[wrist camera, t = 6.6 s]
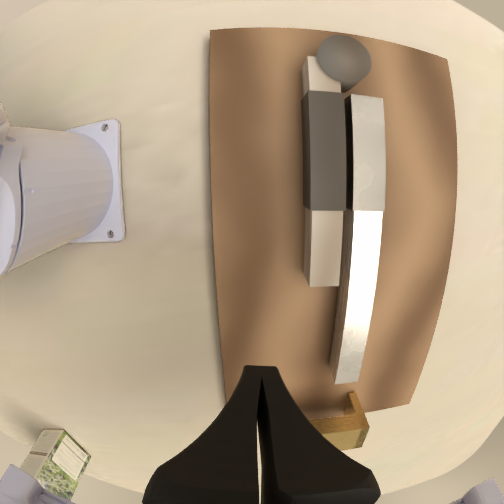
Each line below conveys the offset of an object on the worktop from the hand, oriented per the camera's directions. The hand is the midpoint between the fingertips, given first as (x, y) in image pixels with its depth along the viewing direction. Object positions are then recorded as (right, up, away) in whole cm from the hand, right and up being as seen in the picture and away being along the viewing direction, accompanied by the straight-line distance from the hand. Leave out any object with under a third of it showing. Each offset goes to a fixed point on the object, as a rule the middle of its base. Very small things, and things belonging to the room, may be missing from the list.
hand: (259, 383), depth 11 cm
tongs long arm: (+6, +6, +5) cm, 10 cm away
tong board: (+6, +6, +7) cm, 10 cm away
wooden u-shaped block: (+5, -7, +9) cm, 12 cm away
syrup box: (-25, -20, +14) cm, 35 cm away
